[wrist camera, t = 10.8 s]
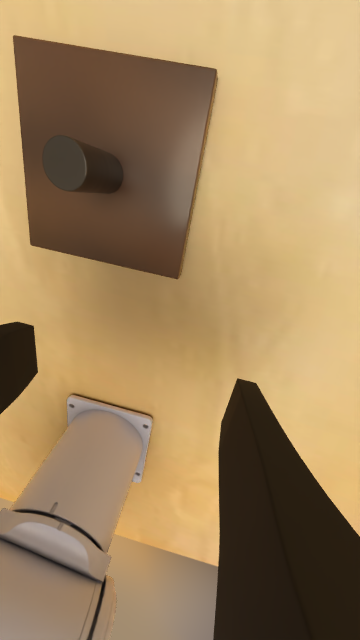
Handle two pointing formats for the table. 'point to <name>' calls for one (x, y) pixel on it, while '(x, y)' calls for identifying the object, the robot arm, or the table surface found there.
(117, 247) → the stand
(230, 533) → the robot arm
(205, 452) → the table surface
